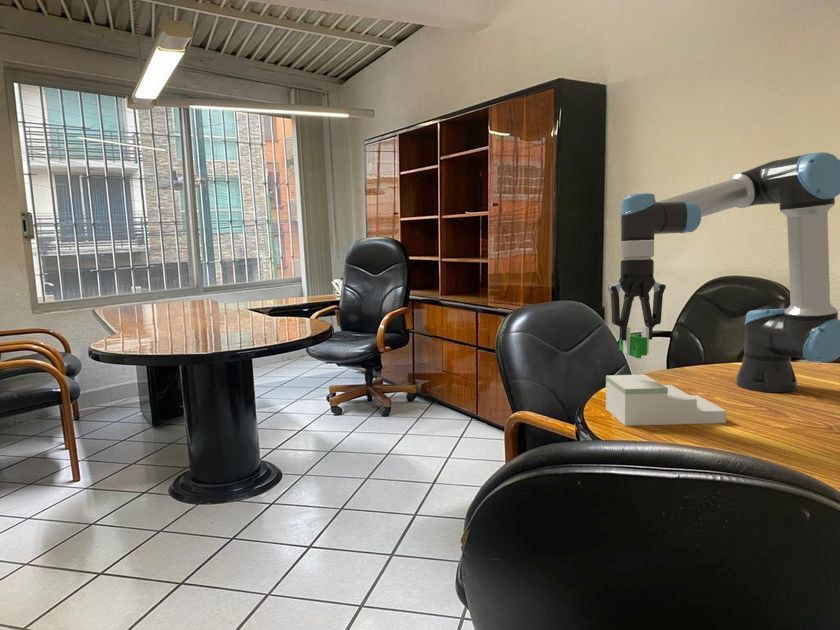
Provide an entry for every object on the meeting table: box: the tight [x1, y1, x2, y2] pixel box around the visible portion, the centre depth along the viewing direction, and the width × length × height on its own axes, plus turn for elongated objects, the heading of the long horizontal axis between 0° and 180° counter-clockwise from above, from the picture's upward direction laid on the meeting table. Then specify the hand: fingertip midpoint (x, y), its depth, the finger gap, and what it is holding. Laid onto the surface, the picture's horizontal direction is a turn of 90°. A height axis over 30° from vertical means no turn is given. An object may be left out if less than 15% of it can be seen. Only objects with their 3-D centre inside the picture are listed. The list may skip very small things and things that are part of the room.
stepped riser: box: [605, 374, 727, 427], centre depth 136 cm, size 24×14×9 cm, turn 89°
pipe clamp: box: [618, 332, 648, 359], centre depth 135 cm, size 11×4×5 cm, turn 1°
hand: (635, 352), depth 135 cm, fingers closed on pipe clamp, 4 cm apart
